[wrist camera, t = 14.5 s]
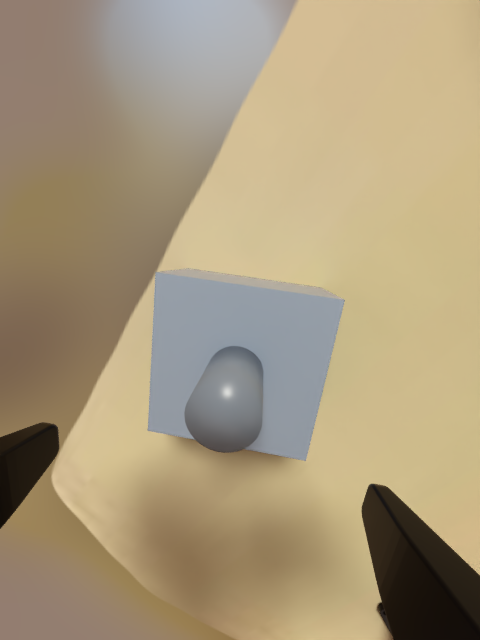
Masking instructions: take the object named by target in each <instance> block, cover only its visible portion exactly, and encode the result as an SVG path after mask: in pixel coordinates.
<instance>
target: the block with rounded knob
mask: <svg viewBox="0 0 480 640" xmlns="http://www.w3.org/2000/svg"><path fill="white" fill-rule="evenodd" d="M344 301H345V300H344V299H342V298H340V297H338V296H336V295H334V294H332V293H330V292H328V291H327V290H325V289H323V288H320V287H313V286H306V285H299V284H292V283H285V282H278V281H272V280H265V279H258V278H251V277H244V276H237V275H230V274H223V273H216V272H209V271H202V270H195V269H179V270H170V271H162V272H156V275H155V295H154V316H153V336H152V357H151V377H150V398H149V418H148V431H152V432H157V433H163V434H168V435H173V436H178V437H184V438H189V439H194V440H196V441H197V442H199V443H200V444H201V445H203V446H204V447H206V448H208V449H211V450H214V451H218V452H236V451H239V450H242V449H247V450H252V451H257V452H262V453H267V454H273V455H278V456H283V457H288V458H294V459H299V460H304V461H306V458H307V454H308V449H309V445H310V441H311V437H312V433H313V429H314V425H315V421H316V416H317V412H318V408H319V404H320V400H321V396H322V392H323V388H324V383H325V379H326V375H327V371H328V367H329V363H330V359H331V355H332V350H333V346H334V342H335V338H336V334H337V330H338V326H339V321H340V317H341V313H342V309H343V305H344Z"/></svg>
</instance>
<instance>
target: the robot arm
mask: <svg viewBox="0 0 480 640" xmlns="http://www.w3.org/2000/svg"><path fill="white" fill-rule="evenodd" d="M58 436H59V435H58V427H57V426H56V425H54V424H50V423H39V424H36V425H33V426H30V427H27V428H25V429H22V430H19V431H16V432H14V433H11V434H8V435H5V436H3V437H0V529H1V527H2V526H3V525H4V524H5V523H6V522H7V520H8V519H9V518H10V517H11V515H12V514H13V513H14V512H15V511H16V509H17V508H18V506H19V505H20V504H21V503H22V502H23V500H24V499H25V497H26V496H27V495H28V493H29V492H30V491H31V489H32V488H33V487H34V485H35V484H36V483H37V481H38V480H39V479H40V477H41V476H42V475H43V473H44V472H45V471H46V469H47V468H48V467H49V465H50V464H51V463H52V461H53V460H54V459H55V457H56V456H57V454H58V451H59V437H58ZM362 518H363V523H364V527H365V532H366V536H367V541H368V545H369V550H370V554H371V559H372V563H373V568H374V572H375V577H376V581H377V585H378V589H379V593H380V596H381V600H382V603H383V604H381V605H379V607H378V608H379V611H380V614H381V616H382V618H383V620H384V621H385V623H386V625H387V627H388V629H389V631H390V632H391V634H392V636H393V639H394V640H480V575H479V574H478V573H477V572H476V571H475V570H474V569H472V568H471V567H470V566H469V565H468V564H467V563H466V562H465V561H464V560H463V559H462V558H461V557H460V556H459V555H458V554H457V553H456V552H455V551H454V550H453V549H452V548H451V547H450V546H449V545H447V544H446V543H445V542H444V541H443V540H442V539H441V538H440V537H439V536H438V535H437V534H436V533H435V532H434V531H433V530H432V529H431V528H430V527H429V526H428V525H427V524H426V523H425V522H424V521H423V520H421V519H420V518H419V517H418V516H417V515H416V514H415V513H414V512H413V511H412V510H411V509H410V508H409V507H408V506H407V505H406V504H405V503H404V502H403V501H402V500H401V499H400V498H399V497H398V496H396V495H395V494H394V493H393V492H392V491H391V490H390V489H389V488H388V487H386V486H383V485H378V484H370V485H369V486H368V489H367V492H366V495H365V498H364V502H363V505H362Z"/></svg>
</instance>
